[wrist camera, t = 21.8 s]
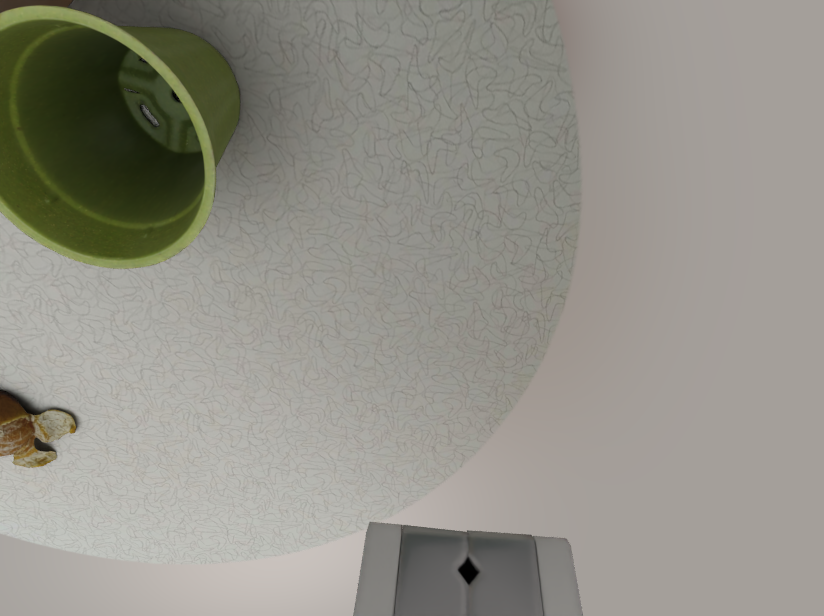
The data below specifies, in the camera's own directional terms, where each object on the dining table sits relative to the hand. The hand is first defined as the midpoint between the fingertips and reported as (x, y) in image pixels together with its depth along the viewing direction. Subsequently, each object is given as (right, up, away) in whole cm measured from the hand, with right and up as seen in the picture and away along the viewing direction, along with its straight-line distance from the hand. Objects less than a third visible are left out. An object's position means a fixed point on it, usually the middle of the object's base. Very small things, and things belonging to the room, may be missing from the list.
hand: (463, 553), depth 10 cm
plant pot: (-15, +17, +28) cm, 36 cm away
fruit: (-34, -6, +44) cm, 56 cm away
